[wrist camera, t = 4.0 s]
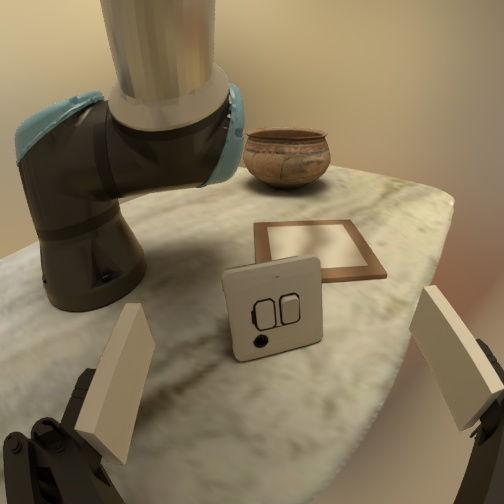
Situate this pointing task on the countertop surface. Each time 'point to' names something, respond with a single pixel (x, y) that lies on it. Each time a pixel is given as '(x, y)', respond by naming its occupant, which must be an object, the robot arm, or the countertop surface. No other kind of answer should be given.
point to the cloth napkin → (320, 247)
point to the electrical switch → (274, 305)
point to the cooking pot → (286, 155)
